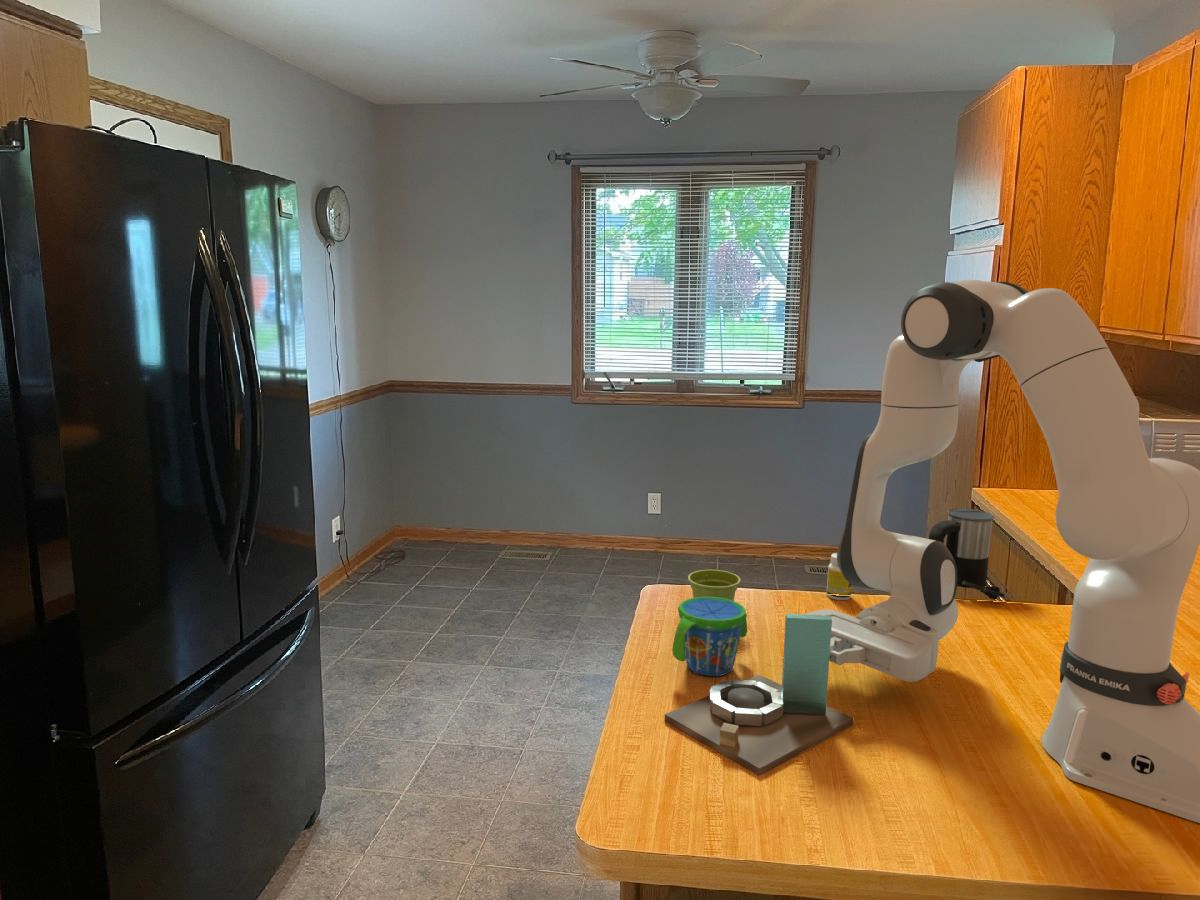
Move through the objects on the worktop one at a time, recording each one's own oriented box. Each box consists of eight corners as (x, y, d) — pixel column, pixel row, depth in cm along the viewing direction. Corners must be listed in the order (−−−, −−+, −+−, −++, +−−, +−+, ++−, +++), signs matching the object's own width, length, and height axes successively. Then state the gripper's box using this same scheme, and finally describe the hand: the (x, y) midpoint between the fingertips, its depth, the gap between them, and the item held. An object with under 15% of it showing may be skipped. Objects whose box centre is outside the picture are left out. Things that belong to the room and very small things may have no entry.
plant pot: (680, 628, 148) (681, 582, 146) (694, 610, 156) (696, 566, 155) (731, 637, 144) (733, 589, 143) (743, 618, 153) (745, 573, 151)
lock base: (853, 724, 115) (854, 704, 115) (759, 775, 103) (760, 753, 102) (758, 680, 128) (759, 662, 128) (664, 720, 116) (665, 700, 115)
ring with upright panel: (830, 712, 116) (836, 618, 114) (768, 743, 108) (774, 642, 105) (756, 677, 126) (760, 590, 124) (695, 704, 118) (698, 611, 115)
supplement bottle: (852, 601, 162) (855, 560, 160) (827, 599, 163) (829, 558, 161) (849, 593, 166) (852, 553, 165) (825, 591, 167) (828, 551, 166)
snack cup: (722, 644, 141) (724, 588, 139) (768, 667, 133) (771, 607, 131) (651, 667, 132) (652, 607, 130) (695, 693, 124) (697, 629, 122)
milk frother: (955, 571, 180) (962, 505, 178) (1028, 592, 168) (1036, 522, 165) (917, 584, 172) (923, 515, 169) (991, 607, 160) (998, 533, 157)
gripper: (828, 594, 134) (773, 614, 126) (948, 634, 119) (895, 660, 110) (826, 630, 135) (771, 652, 127) (945, 675, 120) (891, 704, 111)
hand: (830, 656), depth 118 cm, fingers closed
